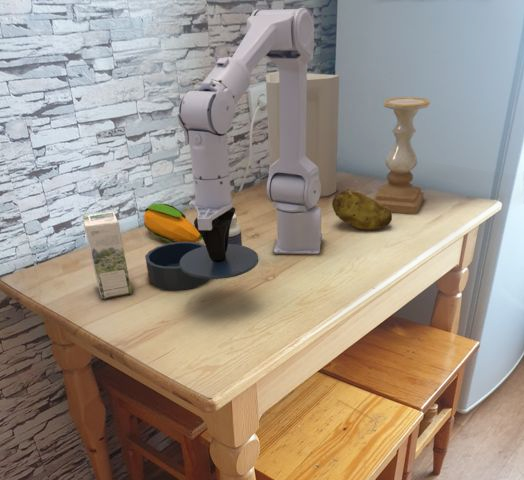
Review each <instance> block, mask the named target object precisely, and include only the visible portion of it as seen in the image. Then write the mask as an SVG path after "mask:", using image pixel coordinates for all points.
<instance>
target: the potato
mask: <svg viewBox="0 0 524 480" xmlns="http://www.w3.org/2000/svg"><path fill="white" fill-rule="evenodd" d="M331 206H332V209H333V212H334V213H335V215H336V216H337V217H338V219H339V220H341V221H342V222H344V223H346V224H349V225H351V226H352V227H354V228H356V229H358V230H362V231H363V230H364V231H373V230H378V229H382V228H386V227H387V226H389V225H390V224H391V223H392V221H393V212H391V210H390V209H389V208H388V207H386V206H385V205H383V204H381V203H379V202H377V201H374V200H373V199H372V198H371V197H369V196H367V195H365V194H363V193H362V192H359V191H358V190H351V189H347V190H344V191H341V192H339V193H337V195H334V197H333V199H332V202H331Z"/></svg>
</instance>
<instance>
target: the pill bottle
mask: <svg viewBox="0 0 524 480" xmlns="http://www.w3.org/2000/svg"><path fill="white" fill-rule="evenodd" d="M228 244H236V245H241V246H243V241H242V228H241V226H240V225H239V224H238V219H237V214H235V213H234V215H233V218H232V221H231V225H230V231H229V239H228Z"/></svg>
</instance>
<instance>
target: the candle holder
mask: <svg viewBox="0 0 524 480" xmlns="http://www.w3.org/2000/svg"><path fill="white" fill-rule="evenodd" d="M430 104H431V100H430V99H428V98H426V97H418V96H398V97H391V98H386V99H384V101H383V107H384V108H386V109H390V110H393V113H394V115H395V117H396V124H395V126H394V128H393V129H392V133H393V136H394V138H395V143H394V144H393V146H392V148H391V150H390V151H389V152H388V154H387V156H386V158H385V166H386V168H387V169H388V170H389V172H388V173H387V175H386V180H387V182H388V183H386V184H383V185H382V186H381V187H380V189H379V190H378V191H377V193H376V195H375V197H374V198H373V199H372V200H374V201H377V202H379V203H381V204H383V205H385V206H386V207H388V208H389V209H390V210H391V213H399V214H410V215H416V214H417V213H418V211H419V210H420V208H421V205H423V202H424V196H425V195H424V194H425V193H424V192H423V191H421V190H422V189H421V187H420V186H414V185H413V184H412V183H411V182H412V181H413V179H414V176H413V173H412V170H414V169H415V168H416V167H417V164H418V157H417V155H416V152H415V150H414V148H413V146H412V142H411V140H412V137H414V134H415V133H416V129H415V126H414V123H413V122H414V118H415V116H416V115H417V114H418V112H419V110H420V109H421V110H422V109H426V108H428V107H429V106H430Z"/></svg>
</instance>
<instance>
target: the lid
mask: <svg viewBox="0 0 524 480" xmlns="http://www.w3.org/2000/svg"><path fill="white" fill-rule="evenodd" d="M258 264H259V255H258V253H257V252H256V251H255V250H254V249H252V248H250V247H248V246H246V245H242V246H241V245H236V244H228V247H227V251H226V253H225V250H224V257H223V260H211V259H210V257H209V254H208V251H207V248H206V246H203V247H200V248H197V249H194V250H192V251H190V252H188V253H186V254H185V255H184V256H183V257H182V258H181V260H180V268H181V270H182V271H183V272H184V273H186V274H188V275H190V276H193V277H196V278H202V279H210V280H223V279H231V278H236V277H239V276H242V275H244V274H246V273H249V272H250V271H252V270H253V269H255V268H256V266H257V265H258Z"/></svg>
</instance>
